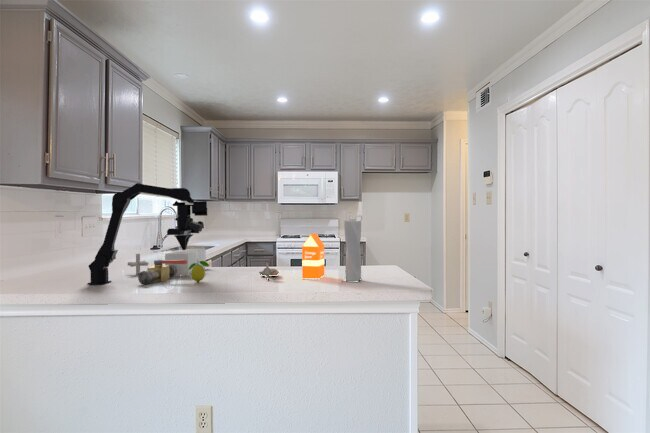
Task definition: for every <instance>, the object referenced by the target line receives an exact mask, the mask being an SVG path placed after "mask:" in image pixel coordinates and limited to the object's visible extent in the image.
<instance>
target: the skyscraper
mask: <svg viewBox="0 0 650 433" xmlns="http://www.w3.org/2000/svg"><path fill="white" fill-rule="evenodd" d="M358 217H360V220H357V218H358ZM362 220H363V216H362V215H361V214H359V215H356V216H355V218H352V219H351V218H347V219H344V222H343V224H344V225H343V227H344V240H345V241H344V242H345V247H346V249H345V278H346V281H358V282H357V283H360V281H361V280H362V256H361V255H362V254H361V247H360V244H361V238H362ZM360 279H361V280H360ZM359 280H360V281H359Z"/></svg>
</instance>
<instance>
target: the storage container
mask: <svg viewBox="0 0 650 433" xmlns="http://www.w3.org/2000/svg"><path fill="white" fill-rule="evenodd" d="M206 253H207V252H206V248H195V249H194V248H186V250H182V249H179V250H176V251H170V252H167V253H165V254H164V260H187V264H164V266H167V265H174V266H175V267H176V269H177V273H176V275H175V276H174V277H181V276H180V275H189V276H190V273H189V272H191V271H192V269H193V268H191V269H190V270H189V267H190V266H191V265H192V264H193V263H197V264H199V265H201V264H200V262H199V261H205V262H207V260H206V258H207V257H206ZM197 264H196V265H197ZM201 266H202V267H203V268H207V266H203V265H201Z"/></svg>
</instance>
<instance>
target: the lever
mask: <svg viewBox="0 0 650 433" xmlns="http://www.w3.org/2000/svg"><path fill="white" fill-rule="evenodd" d="M155 264H163V265H165V264H187V260H165V259H156V260H153V265H155Z"/></svg>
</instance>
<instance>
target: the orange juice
mask: <svg viewBox="0 0 650 433" xmlns="http://www.w3.org/2000/svg"><path fill="white" fill-rule="evenodd" d="M301 248H302V249H301V255H302V257H301V258H302V259H301V263H302V264H301V266H302V270H301V271H302V278H320V277H321V276H323V275H324V276H325V244H324V243H323V241H322V240H321V237H319V235H318V233H310V235H309V236H308V238H307V239H306V240H305V242H304V244H303V245H302V246H301Z"/></svg>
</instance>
